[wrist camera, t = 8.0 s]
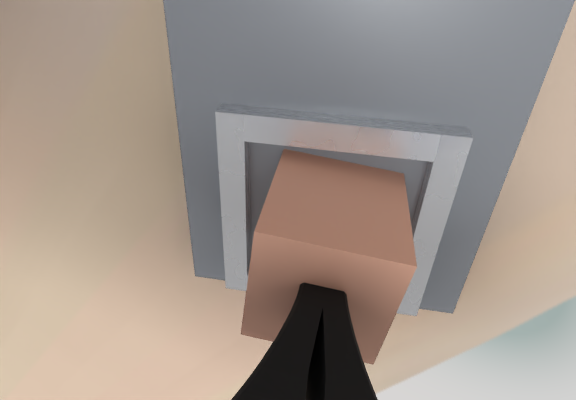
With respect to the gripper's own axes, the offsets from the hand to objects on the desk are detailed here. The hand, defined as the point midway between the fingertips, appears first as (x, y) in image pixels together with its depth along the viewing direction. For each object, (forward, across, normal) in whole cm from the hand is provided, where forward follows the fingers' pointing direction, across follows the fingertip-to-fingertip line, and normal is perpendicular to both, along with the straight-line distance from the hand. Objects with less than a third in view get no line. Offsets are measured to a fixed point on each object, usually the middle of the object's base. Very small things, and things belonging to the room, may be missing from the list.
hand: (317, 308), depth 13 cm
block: (+5, 0, 0) cm, 5 cm away
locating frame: (+5, 0, 0) cm, 5 cm away
